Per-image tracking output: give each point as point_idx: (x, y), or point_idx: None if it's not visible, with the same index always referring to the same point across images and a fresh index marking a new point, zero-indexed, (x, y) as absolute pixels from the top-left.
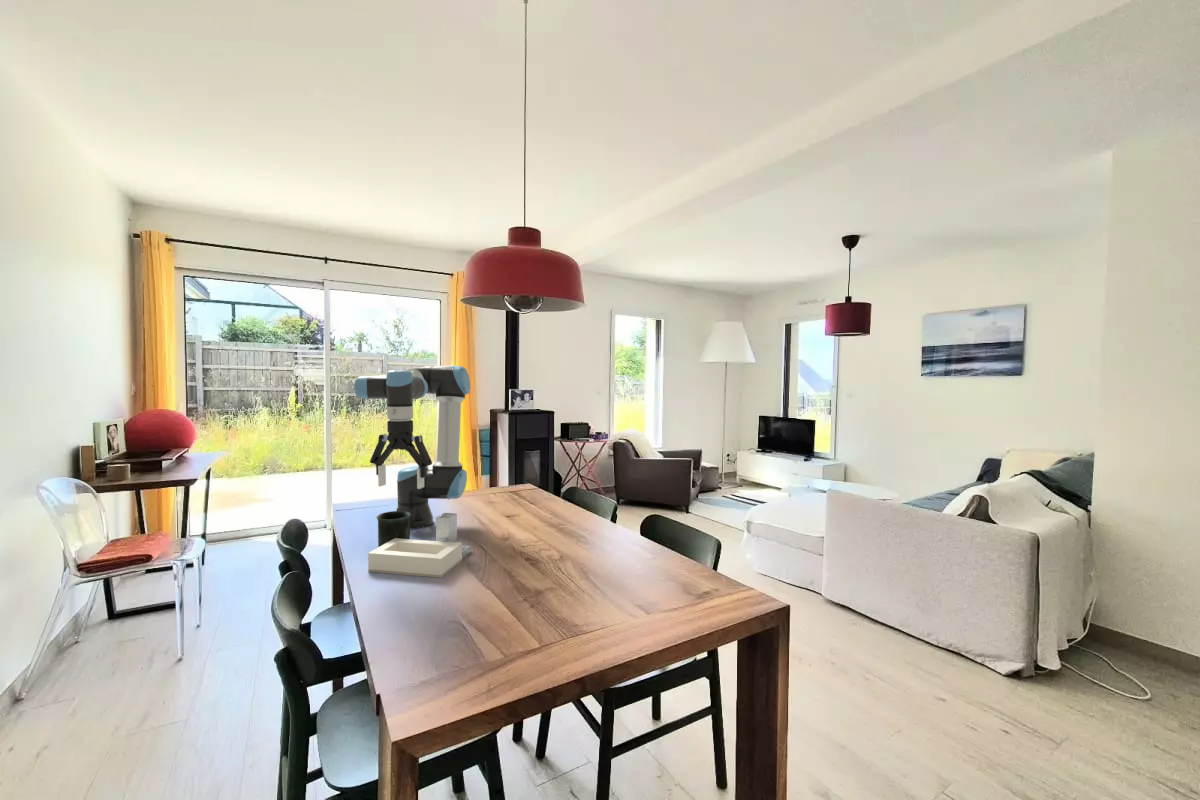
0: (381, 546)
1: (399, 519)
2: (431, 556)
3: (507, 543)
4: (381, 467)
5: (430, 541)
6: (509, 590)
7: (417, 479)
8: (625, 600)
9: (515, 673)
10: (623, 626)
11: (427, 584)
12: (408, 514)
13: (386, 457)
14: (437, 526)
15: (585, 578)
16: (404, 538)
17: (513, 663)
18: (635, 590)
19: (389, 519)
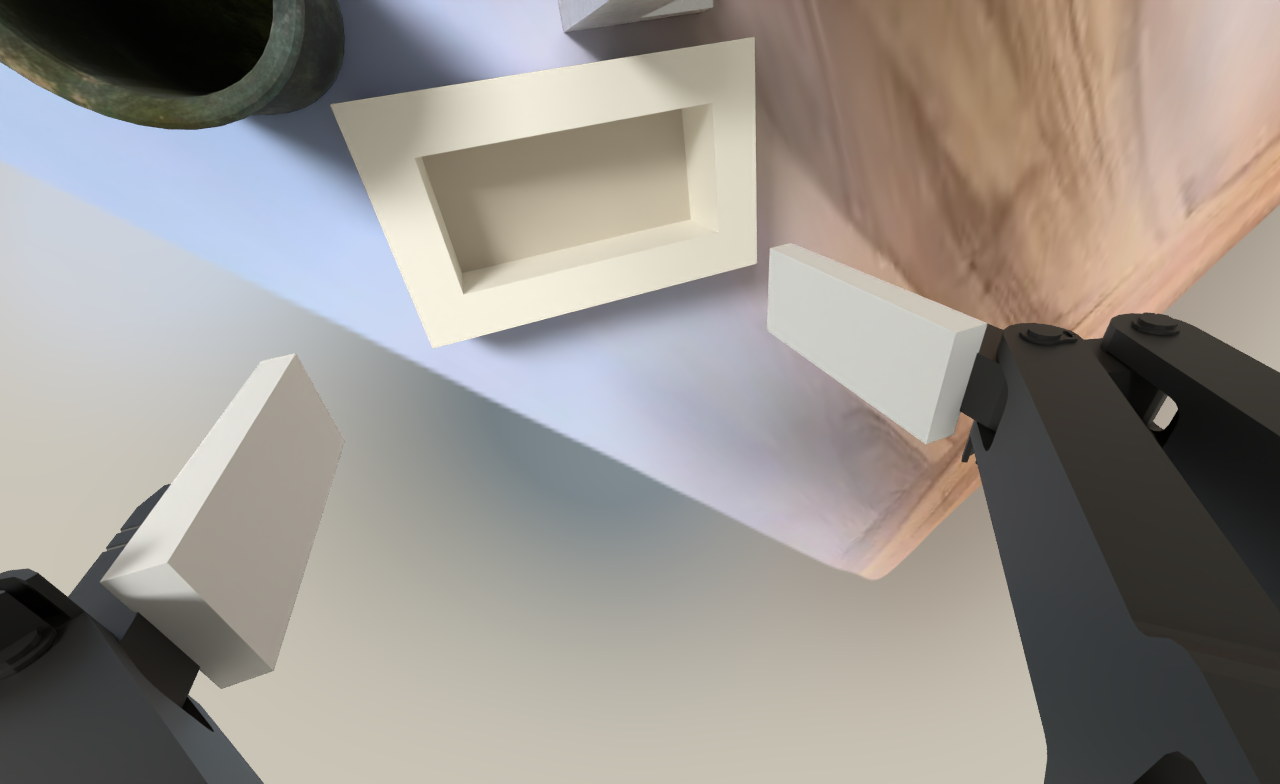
0: (403, 257)
1: (299, 53)
2: (712, 260)
3: None
4: (260, 616)
5: (583, 77)
6: (933, 235)
7: (826, 369)
8: (1172, 170)
9: (970, 463)
10: (1131, 283)
11: (708, 304)
12: None
13: (222, 771)
14: (615, 2)
15: (1126, 60)
16: (327, 16)
17: None
18: (1215, 98)
19: (236, 103)
